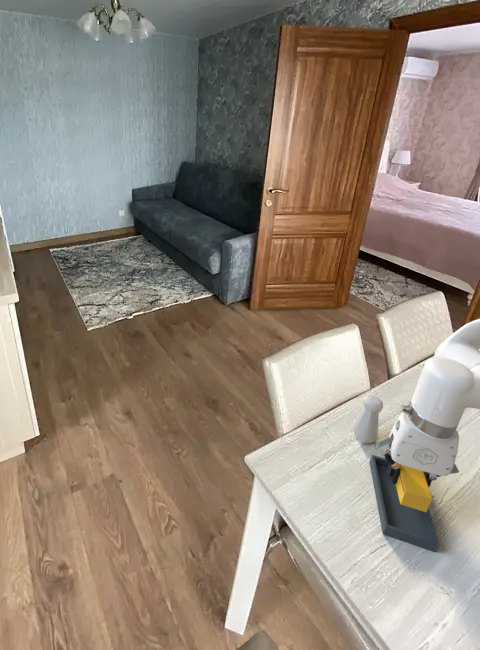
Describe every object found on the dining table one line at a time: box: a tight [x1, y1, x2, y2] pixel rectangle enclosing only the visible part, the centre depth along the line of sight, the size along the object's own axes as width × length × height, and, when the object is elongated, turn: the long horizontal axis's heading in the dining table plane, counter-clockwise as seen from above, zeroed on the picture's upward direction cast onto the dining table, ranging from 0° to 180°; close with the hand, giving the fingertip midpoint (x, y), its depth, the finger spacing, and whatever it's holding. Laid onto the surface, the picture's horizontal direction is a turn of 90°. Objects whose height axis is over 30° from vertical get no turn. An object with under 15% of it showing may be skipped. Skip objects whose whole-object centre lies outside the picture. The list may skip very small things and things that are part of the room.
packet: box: [389, 449, 433, 512], centre depth 72 cm, size 11×4×4 cm, turn 161°
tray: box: [369, 454, 441, 553], centre depth 75 cm, size 9×16×2 cm, turn 161°
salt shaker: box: [352, 394, 384, 445], centre depth 87 cm, size 6×6×13 cm
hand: (406, 481), depth 73 cm, fingers closed on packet, 4 cm apart
